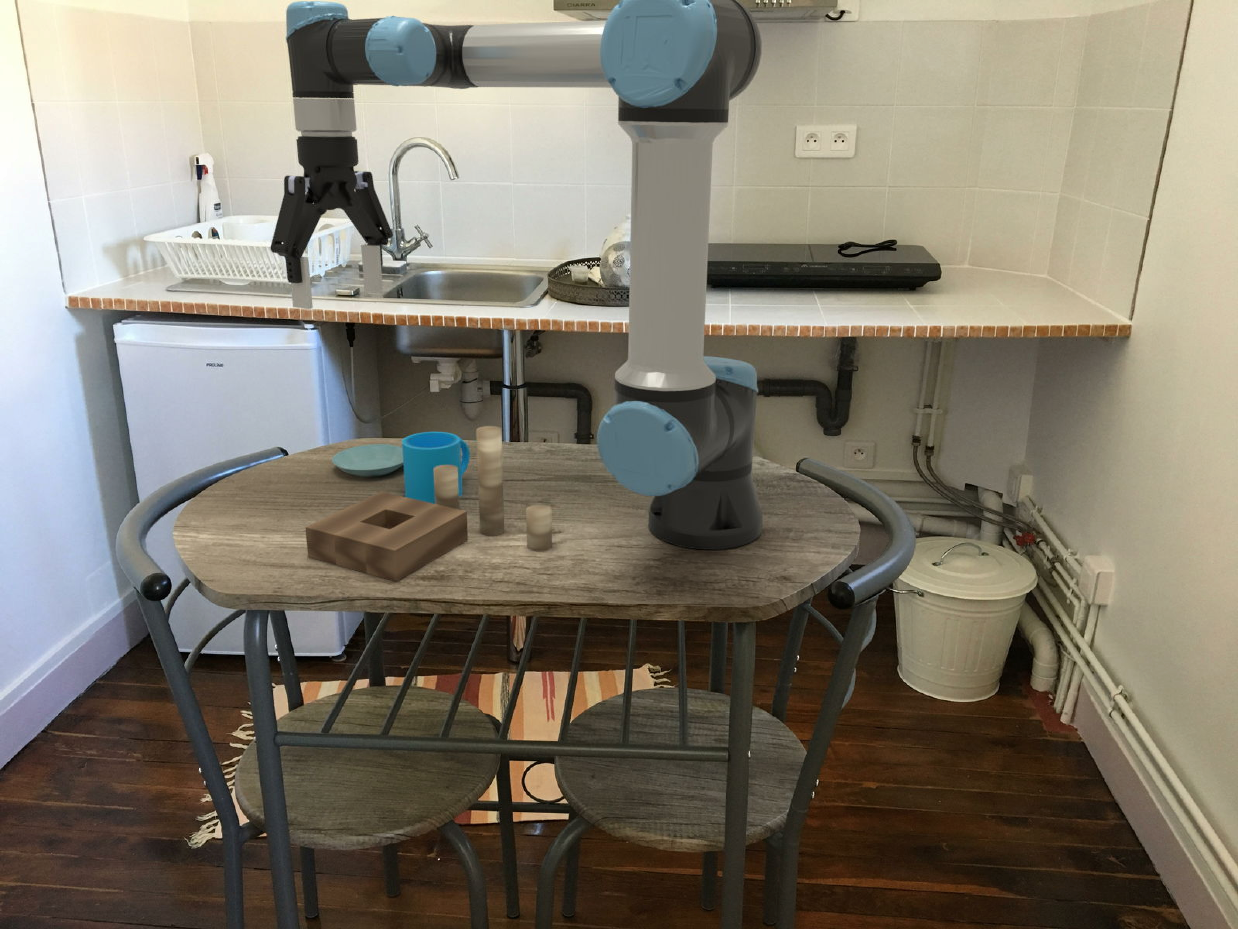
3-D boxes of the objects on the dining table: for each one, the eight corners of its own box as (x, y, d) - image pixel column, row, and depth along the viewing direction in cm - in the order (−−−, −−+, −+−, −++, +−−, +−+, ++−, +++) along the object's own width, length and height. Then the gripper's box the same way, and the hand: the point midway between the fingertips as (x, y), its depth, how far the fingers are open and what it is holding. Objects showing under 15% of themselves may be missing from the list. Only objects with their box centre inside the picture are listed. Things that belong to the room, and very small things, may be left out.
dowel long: (509, 529, 134) (506, 428, 129) (495, 537, 131) (492, 434, 127) (489, 524, 135) (485, 424, 131) (475, 532, 133) (471, 431, 128)
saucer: (356, 489, 148) (355, 474, 147) (319, 468, 156) (317, 454, 155) (426, 471, 155) (425, 457, 155) (386, 452, 164) (385, 439, 163)
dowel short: (556, 544, 130) (556, 508, 128) (543, 553, 127) (542, 516, 125) (535, 539, 131) (535, 503, 129) (521, 548, 128) (521, 511, 127)
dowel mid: (464, 515, 138) (462, 467, 136) (450, 523, 136) (447, 474, 133) (445, 510, 140) (443, 463, 137) (431, 518, 137) (428, 470, 135)
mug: (436, 508, 141) (433, 453, 138) (393, 497, 145) (389, 442, 142) (490, 483, 150) (488, 431, 148) (448, 473, 154) (445, 422, 152)
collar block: (467, 539, 130) (466, 511, 129) (396, 581, 119) (394, 550, 117) (383, 519, 137) (381, 491, 135) (308, 557, 125) (305, 527, 124)
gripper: (369, 132, 141) (379, 284, 148) (228, 135, 121) (248, 311, 128) (412, 133, 138) (420, 288, 145) (274, 136, 117) (291, 317, 124)
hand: (339, 299), depth 136 cm, fingers open, 13 cm apart
